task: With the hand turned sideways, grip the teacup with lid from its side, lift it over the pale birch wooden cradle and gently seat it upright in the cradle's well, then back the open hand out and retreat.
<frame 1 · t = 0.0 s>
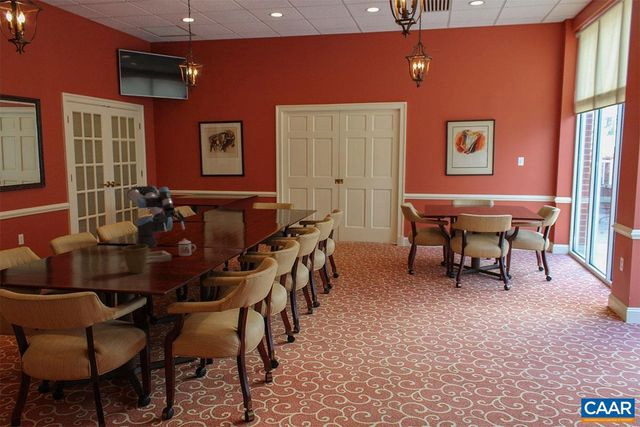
hand: (174, 230, 365), 15 cm above the table, tool tilted 35°, fingers open, 13 cm apart
cradle: (153, 260, 337), on the table
teacup with lid: (187, 255, 353), on the table
plant pot: (136, 272, 306), on the table
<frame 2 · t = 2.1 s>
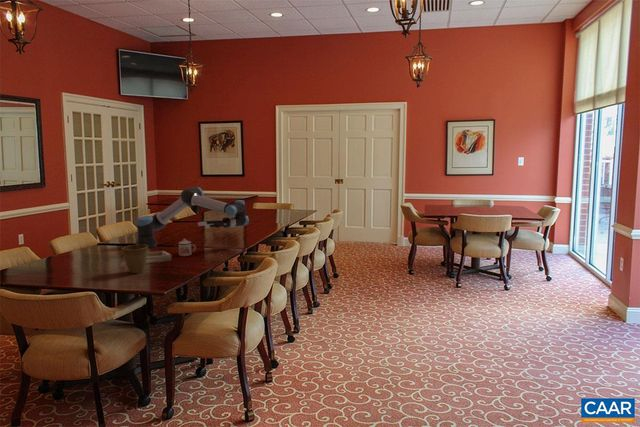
hand: (201, 225, 357), 20 cm above the table, tool horizontal, fingers open, 13 cm apart
nothing on the table moved.
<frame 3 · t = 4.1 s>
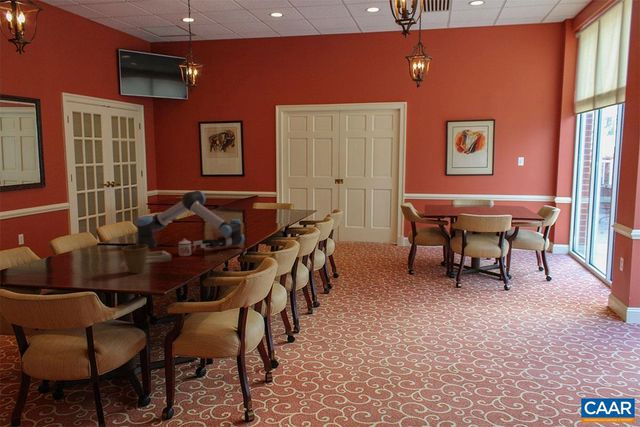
hand: (197, 244, 356), 6 cm above the table, tool horizontal, fingers open, 13 cm apart
nothing on the table moved.
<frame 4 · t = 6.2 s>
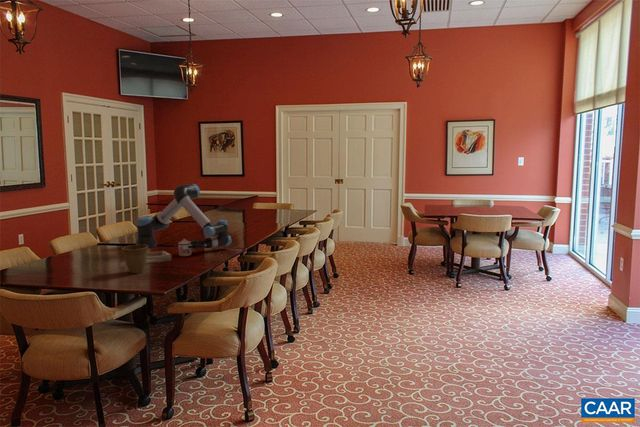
hand: (180, 246, 350), 7 cm above the table, tool horizontal, fingers open, 9 cm apart
teacup with lid: (187, 255, 353), on the table, touching gripper
everything else where it was.
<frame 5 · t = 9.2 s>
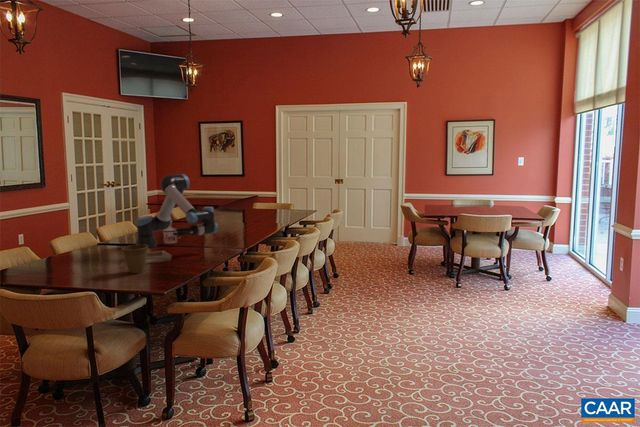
hand: (165, 233, 339), 18 cm above the table, tool horizontal, fingers closed on teacup with lid, 9 cm apart
teacup with lid: (172, 242, 342), point 11 cm above the table, touching gripper
everything else where it was.
when the fingers open (10 cm above the table, at t = 12.1 s): teacup with lid drops 1 cm, resting on cradle.
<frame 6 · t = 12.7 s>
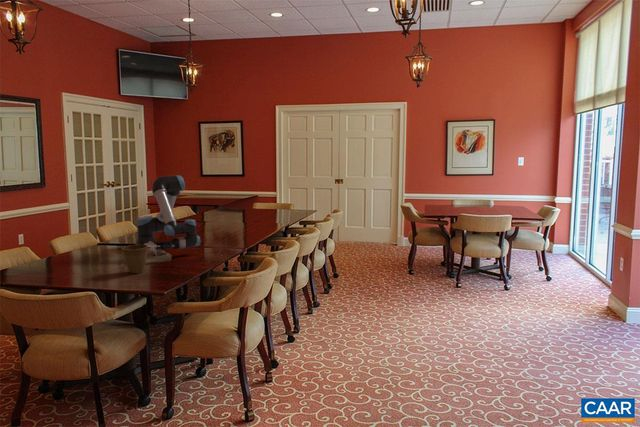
hand: (147, 247, 334), 10 cm above the table, tool horizontal, fingers open, 13 cm apart
teacup with lid: (153, 258, 336), point 1 cm above the table, touching cradle
everything else where it was.
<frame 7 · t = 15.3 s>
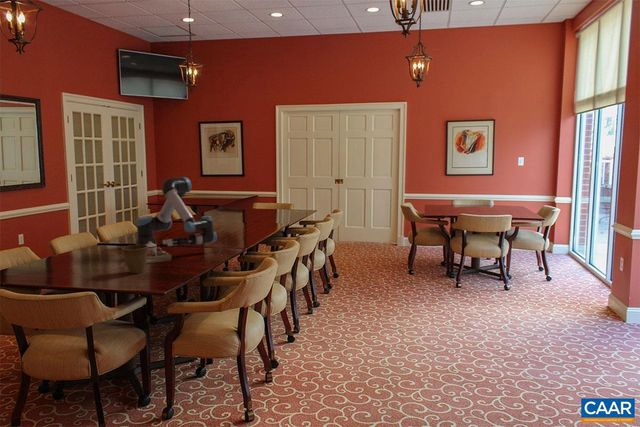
hand: (165, 243, 342), 10 cm above the table, tool horizontal, fingers open, 13 cm apart
nothing on the table moved.
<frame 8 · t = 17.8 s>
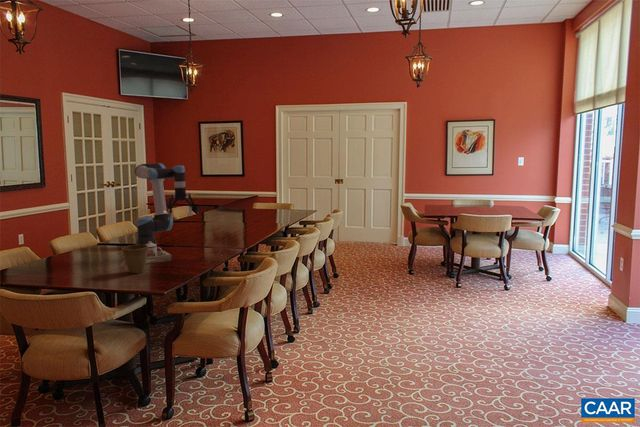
hand: (181, 216, 356), 27 cm above the table, tool pointing down, fingers open, 13 cm apart
nothing on the table moved.
at the end: teacup with lid inside the target area on the cradle (0.6 cm from its centre), point 1.3 cm above the cradle's base; teacup with lid tilted 0°; the gripper is holding nothing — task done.
